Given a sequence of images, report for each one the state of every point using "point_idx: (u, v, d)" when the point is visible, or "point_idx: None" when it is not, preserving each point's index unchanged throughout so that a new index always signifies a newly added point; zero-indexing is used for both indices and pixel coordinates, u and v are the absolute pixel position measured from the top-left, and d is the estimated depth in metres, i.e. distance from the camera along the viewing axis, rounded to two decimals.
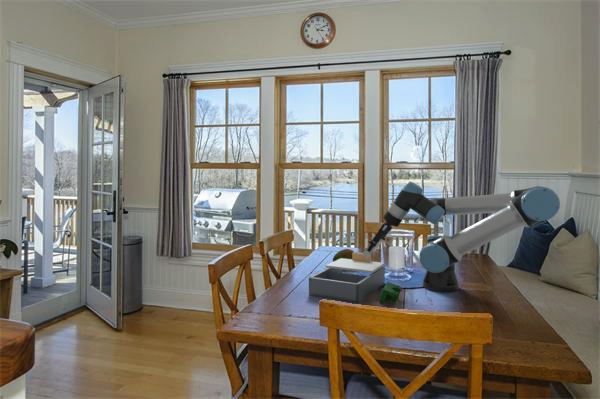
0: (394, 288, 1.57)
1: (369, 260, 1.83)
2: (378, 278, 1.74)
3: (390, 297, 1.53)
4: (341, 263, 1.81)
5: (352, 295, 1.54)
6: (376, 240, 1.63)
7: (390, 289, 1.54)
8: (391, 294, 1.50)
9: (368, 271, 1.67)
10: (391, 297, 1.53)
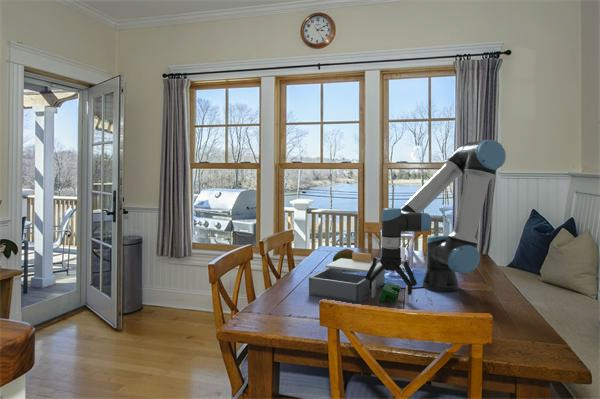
0: (393, 288, 1.57)
1: (369, 260, 1.83)
2: (378, 278, 1.74)
3: (389, 297, 1.54)
4: (341, 263, 1.81)
5: (352, 295, 1.54)
6: (414, 278, 1.51)
7: (389, 289, 1.54)
8: (390, 294, 1.51)
9: None
10: (390, 297, 1.53)
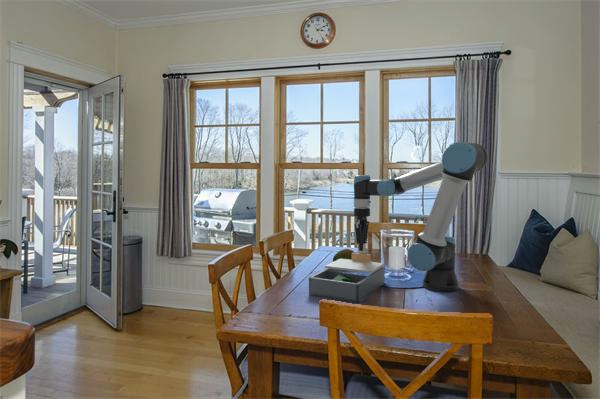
0: (344, 279, 1.66)
1: (368, 260, 1.83)
2: (378, 278, 1.74)
3: None
4: (340, 263, 1.80)
5: (352, 295, 1.54)
6: None
7: (339, 280, 1.63)
8: None
9: (367, 271, 1.66)
10: None
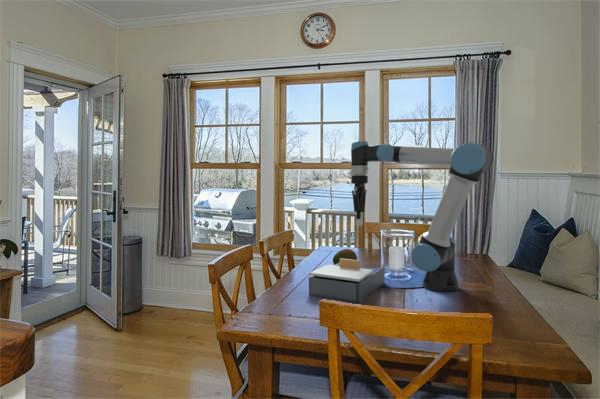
0: None
1: (357, 267, 1.70)
2: (378, 278, 1.74)
3: None
4: (327, 270, 1.68)
5: (352, 295, 1.54)
6: None
7: (339, 280, 1.63)
8: None
9: (355, 279, 1.54)
10: None
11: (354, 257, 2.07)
